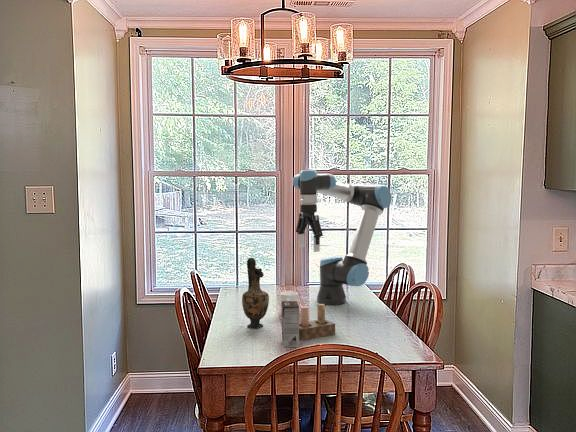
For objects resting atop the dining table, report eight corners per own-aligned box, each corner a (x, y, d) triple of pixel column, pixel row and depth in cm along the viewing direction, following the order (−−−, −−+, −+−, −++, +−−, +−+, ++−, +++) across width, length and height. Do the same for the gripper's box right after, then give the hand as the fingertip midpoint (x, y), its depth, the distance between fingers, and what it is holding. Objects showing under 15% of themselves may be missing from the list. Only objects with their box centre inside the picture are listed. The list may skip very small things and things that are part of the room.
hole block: (323, 328, 237) (323, 318, 236) (335, 334, 229) (335, 323, 229) (291, 334, 229) (291, 323, 229) (301, 340, 221) (301, 329, 221)
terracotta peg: (306, 334, 229) (306, 306, 228) (310, 336, 227) (310, 307, 226) (299, 335, 228) (299, 307, 227) (303, 337, 225) (303, 308, 224)
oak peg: (322, 331, 233) (322, 303, 232) (326, 333, 231) (326, 305, 230) (316, 332, 232) (315, 304, 231) (320, 334, 229) (319, 306, 228)
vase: (248, 331, 234) (247, 262, 231) (237, 324, 245) (236, 258, 242) (273, 327, 239) (272, 259, 237) (261, 320, 250) (260, 255, 247)
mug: (296, 319, 252) (296, 297, 251) (278, 318, 253) (278, 296, 252) (298, 312, 264) (298, 291, 263) (281, 312, 265) (281, 291, 264)
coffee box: (281, 340, 222) (281, 301, 221) (297, 339, 223) (297, 300, 221) (283, 347, 213) (282, 306, 212) (299, 346, 214) (299, 306, 212)
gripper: (288, 202, 260) (289, 247, 262) (315, 205, 238) (316, 254, 240) (302, 202, 264) (302, 245, 266) (330, 204, 242) (330, 252, 244)
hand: (309, 249), depth 253 cm, fingers open, 13 cm apart
